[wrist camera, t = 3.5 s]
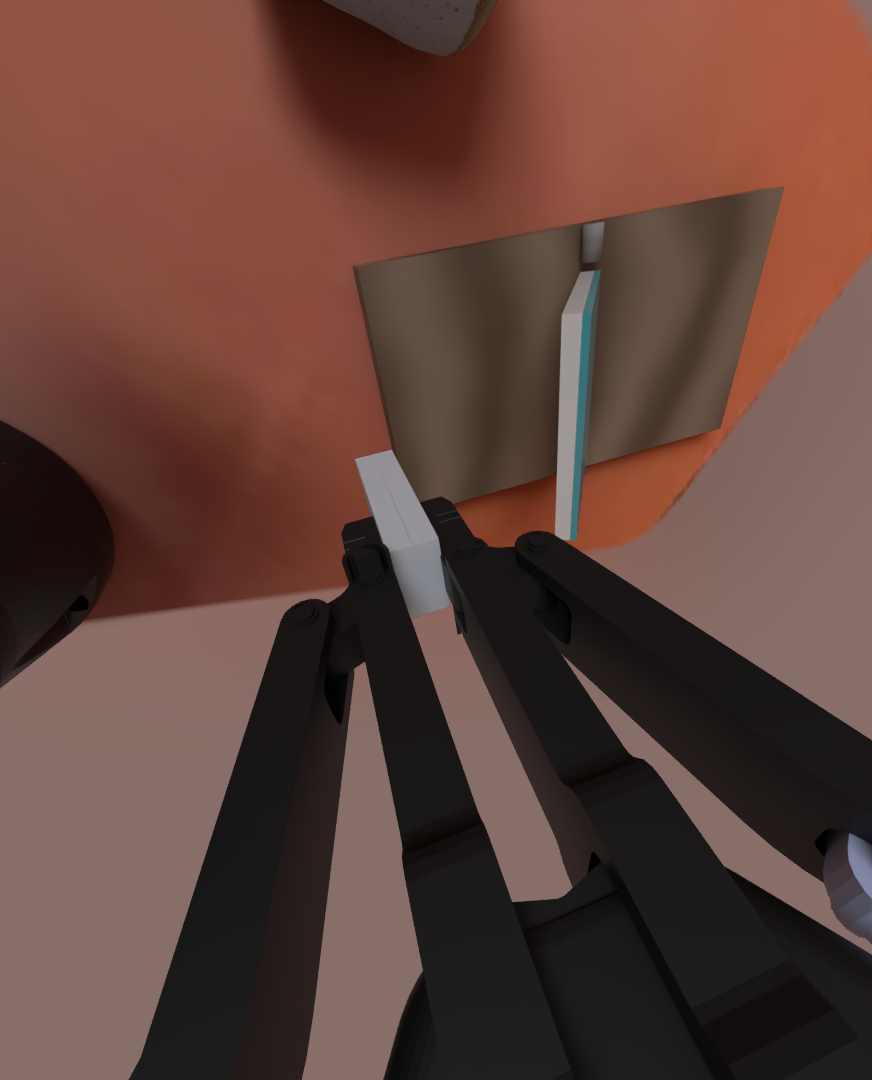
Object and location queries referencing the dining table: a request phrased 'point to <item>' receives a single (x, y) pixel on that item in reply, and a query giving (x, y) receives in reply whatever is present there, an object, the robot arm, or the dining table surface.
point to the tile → (575, 399)
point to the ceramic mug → (424, 21)
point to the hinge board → (535, 339)
